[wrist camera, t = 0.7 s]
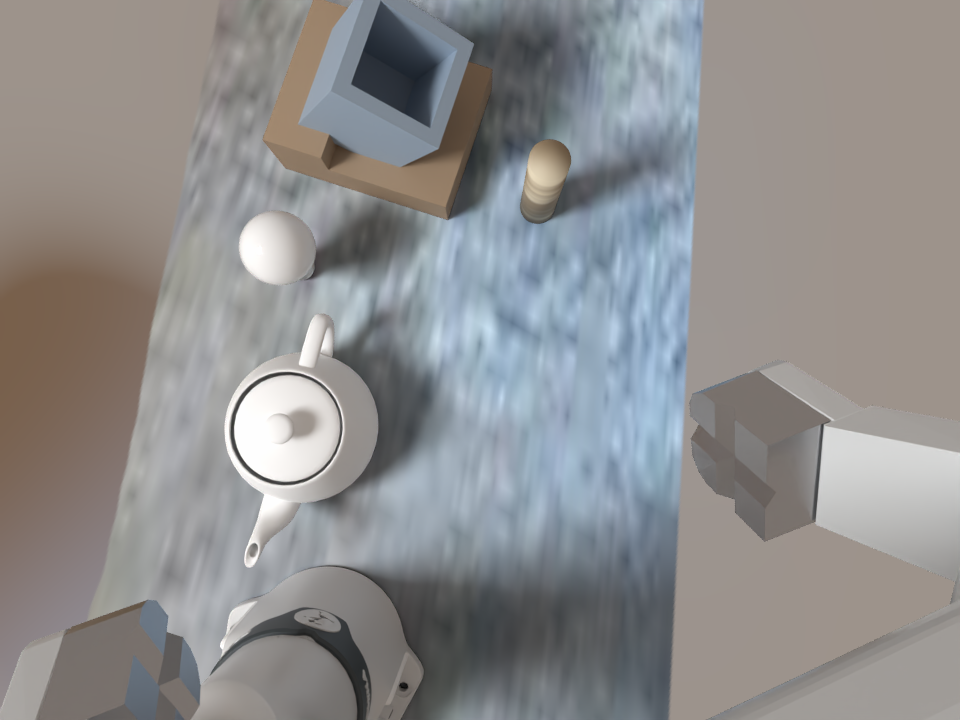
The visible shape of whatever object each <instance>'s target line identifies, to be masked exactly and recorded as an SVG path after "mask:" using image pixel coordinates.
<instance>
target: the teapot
mask: <svg viewBox="0 0 960 720" xmlns="http://www.w3.org/2000/svg"><path fill="white" fill-rule="evenodd" d="M334 336H335V329H334V322H333V320H332V318H331V317H330V316H328V315H326V314H316V315H315V316H314V317H313V319H312V321H311V323H310V326H309V329H308V332H307V335H306V339H305V342H304V346H303V349H302V353H290V354H286V355H282V356H278V357H275V358H273V359H271V360H269V361H267V362H265V363H263V364H262V365H260V366H259V367H257V368H256V369H255V370H253V371H252V372H251V373H250V374H249V375H248V376H247V377H246V378H245V379H244V380H243V381H242V382H241V384H240V385H239V387H238V388H237V390H236V392H235V393H234V395H233V396H232V399H231V402H230V404H229V407H228V409H227V414H226V420H225V441H226V446H227V450H228V454H229V456H230V458H231V460H232V463H233V465H234V466H235V468H236V469H237V471H238V472H239V473H240V475H241V476H242V477H243V478H244V479H245V480H246V481H247V482H248V483H249V484H250V485H251V486H252V487H254V488H255V489H257V490H259V491H260V492H262V493H263V494H265V495H264V498H263V502H262V505H261V509H260V513H259V516H258V519H257V523H256V526H255V528H254V531H253V534H252V536H251V538H250V541H249V543H248V546H247V548H246V552H245V565H246V566H247V567H248V568H249V567H252V566H254V565H255V564H256V562H257V560H258V559H259V557H260V555H261V553H262V551H263V549H264V547H265V545H266V544H267V542H268V541H269V540H270V539H271V538H272V537H273V536H274V535H275V534H277V533H278V532H279V531H281V530H282V529H283V528H285V527H286V526H287V525H288V524H289V523H290V522H291V520H292V519H293V518H294V516H295V514H296V512H297V511H298V509H299V506H300V504H301V503H305V502H315V501H319V500H323V499H326V498H329V497H331V496H334V495H336V494H338V493H340V492H342V491H343V490H344V489H346V488H347V487H348V486H350V485H351V484H352V483H354V481H355V480H356V479H357V478H358V477H359V476H360V475H361V474H362V473H363V471H364V470H365V468H366V466H367V465H368V463H369V461H370V460H371V457H372V454H373V452H374V449H375V446H376V442H377V436H378V430H379V429H378V413H377V409H376V405H375V401H374V399H373V397H372V394H371V392H370V390H369V388H368V387H367V385H366V384H365V383H364V381H363V380H362V378H361V377H360V376H359V375H358V374H357V373H356V372H355V371H353V370H352V369H351V368H350V367H349V366H347V365H345V364H344V363H342V362H340V361H339V360H337V359H334V358H332V356H333V349H334Z"/></svg>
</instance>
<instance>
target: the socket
mask: <svg viewBox="0 0 960 720" xmlns="http://www.w3.org/2000/svg"><path fill="white" fill-rule="evenodd" d="M473 46H474V43H472V42H471V41H469V40H468V39H466V38H464V37H463V36H461V35H460V34H458V33H457V32H455V31H454V30H452V29H451V28H449V27H448V26H446V25H444V24H443V23H441V22H440V21H438V20H437V19H435V18H434V17H432V16H431V15H429V14H427V13H426V12H424V11H423V10H421V9H420V8H418V7H417V6H415V5H414V4H412V3H410V2H409V1H407V0H354V1H353V2H352V3H351V5H350V6H349V7H348V8H347V7H344V6H341V5H338V4H334V3H331V2H328V1H325V0H313V2H312V5H311V8H310V10H309V13H308V16H307V19H306V21H305V24H304V27H303V30H302V32H301V35H300V38H299V41H298V43H297V46H296V49H295V52H294V54H293V57H292V60H291V63H290V65H289V68H288V71H287V74H286V76H285V79H284V82H283V85H282V87H281V90H280V93H279V96H278V98H277V101H276V104H275V107H274V109H273V112H272V115H271V118H270V120H269V123H268V126H267V129H266V131H265V134H264V137H263V141H264V142H265V143H266V145H267V146H268V147H269V148H270V150H271V151H272V152H273V153H274V155H275V156H276V157H277V158H278V160H279V161H280V162H281V163H282V165H283V166H284V167H285V168H286V169H290V170H293V171H296V172H299V173H302V174H305V175H308V176H311V177H315V178H318V179H321V180H324V181H327V182H330V183H333V184H337V185H340V186H343V187H346V188H349V189H352V190H355V191H359V192H362V193H365V194H368V195H371V196H374V197H377V198H380V199H384V200H387V201H390V202H393V203H396V204H399V205H402V206H406V207H409V208H412V209H415V210H418V211H421V212H424V213H428V214H431V215H434V216H437V217H440V218H443V219H446V220H448V218H449V215H450V212H451V209H452V206H453V203H454V200H455V197H456V194H457V191H458V188H459V185H460V182H461V179H462V176H463V173H464V170H465V167H466V164H467V161H468V158H469V155H470V152H471V149H472V147H473V144H474V141H475V138H476V135H477V132H478V129H479V126H480V123H481V120H482V117H483V114H484V111H485V108H486V105H487V102H488V99H489V96H490V93H491V90H492V69H491V68H487V67H484V66H481V65H478V64H474V63H471V62H468V61H469V58H470V55H471V52H472V49H473Z"/></svg>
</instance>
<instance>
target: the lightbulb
mask: <svg viewBox="0 0 960 720" xmlns="http://www.w3.org/2000/svg"><path fill="white" fill-rule="evenodd" d="M239 253H240V257H241V260H242V262H243V264H244V266H245V267H246V269H247V270H248V271H249V272H250V273H251V274H252V275H253V276H254V277H255V278H257V279H258V280H260V281H262V282H264V283H267V284H271V285H288V284H292V283H294V282H297V281H298V280H306V279H308V278H309V277H311V275H312V274H313V272H314V269H315V264H314V261H315V257H316V243H315V239H314V236H313V234H312V232H311V230H310V229H309V227H308V226H307V225H306V224H305V223H304V222H303V221H302V220H301V219H300V218H298V217H297V216H295V215H293V214H291V213H288V212H284V211H267V212H263V213H261V214H259V215H257V216H255V217H254V218H252V219H251V220H250V221H249V222H248V223H247V224H246V226H245V227H244V229H243V231H242V233H241V236H240V240H239Z"/></svg>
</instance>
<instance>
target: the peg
mask: <svg viewBox="0 0 960 720" xmlns="http://www.w3.org/2000/svg"><path fill="white" fill-rule="evenodd" d="M570 165H571V156H570V152H569V150H568V149H567V147H566V146H565V145H564V144H562V143H561V142H559V141H556V140H551V139H549V140H543V141H541V142H539V143H537V144H536V145H535V146H534V147H533V148H532V150H531V152H530V155H529V160H528V165H527V171H526V176H525V181H524V187H523V192H522V198H521V203H520V210H521V213H522V215H523V217H524V218H525V219H526V220H527V221H529V222H531V223H535V224H540V223H544V222H546V221H547V220H549V219H550V218H551V216H552V215H553V213H554V210H555V207H556V204H557V201H558V199H559V196H560V193H561V190H562V187H563V185H564V182H565V179H566V176H567V173H568V171H569V168H570Z"/></svg>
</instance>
